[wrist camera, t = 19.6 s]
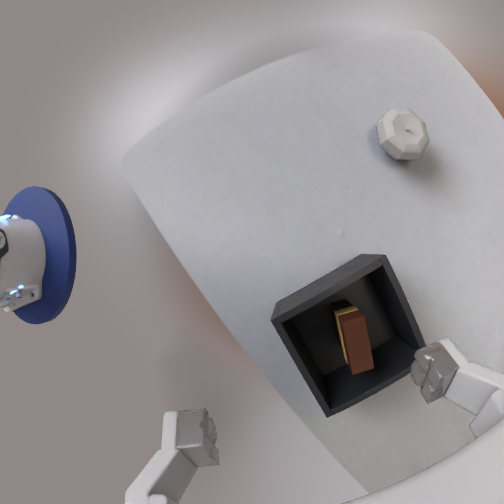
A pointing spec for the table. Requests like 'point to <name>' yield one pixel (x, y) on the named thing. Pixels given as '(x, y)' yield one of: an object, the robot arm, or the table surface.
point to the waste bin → (325, 339)
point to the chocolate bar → (352, 336)
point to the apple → (402, 134)
